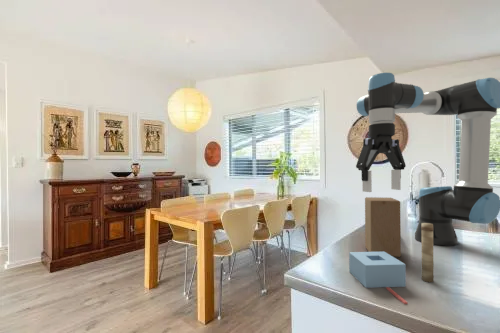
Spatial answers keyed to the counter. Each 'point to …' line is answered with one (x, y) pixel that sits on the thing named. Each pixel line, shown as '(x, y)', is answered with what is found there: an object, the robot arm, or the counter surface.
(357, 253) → the blue block with hole
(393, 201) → the wooden block
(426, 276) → the tan brown rod
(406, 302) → the thin red rod
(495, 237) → the counter surface
